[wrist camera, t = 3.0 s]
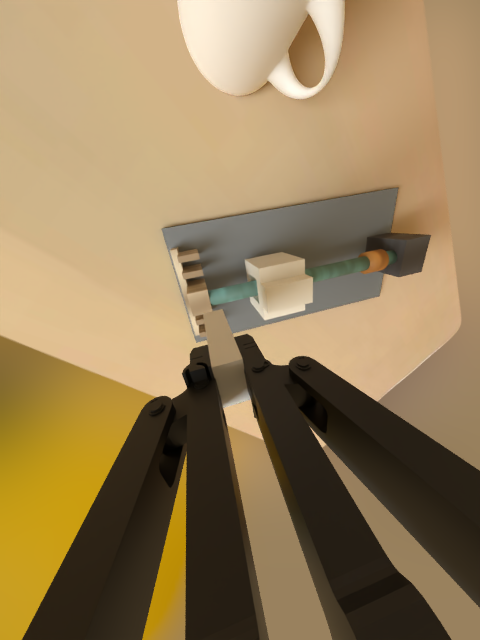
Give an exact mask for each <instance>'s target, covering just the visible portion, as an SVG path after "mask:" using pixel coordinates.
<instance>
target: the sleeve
mask: <svg viewBox="0 0 480 640" xmlns="http://www.w3.org/2000/svg"><path fill="white" fill-rule="evenodd" d="M245 266H246V273H247V280H248V282H250V281H254V280H256V281H257V289H258V295H257V296H253V297H250V302H251V304H252V305H253V306H254V307H255V309H256V310H257V311H258V313H259V314H260V315H261V316H262V318H263V319H264V320H268V319H272V318H276V317H280V316H284V315H288V314H292V313H296V312H300V311H304V310H305V304H308V303H312V302H313V277H311V276H308V275H306V274H305V259H303V258H300V257H297V256H293V255H290V254H287V253H284V252H279V253H274V254H269V255H264V256H260V257H255V258H250V259H245Z"/></svg>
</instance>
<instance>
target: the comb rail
mask: <svg viewBox="0 0 480 640" xmlns="http://www.w3.org/2000/svg"><path fill="white" fill-rule="evenodd" d="M430 237H431V235H421V234H399V233H385V234H380V235H375V236H370V237H367V243H366V250H365V252H364V253H361V254H360V255H359V256H358V258H354V259H349V260H345V261H340V262H336V263H331V264H326V265H322V266H317V267H313V268H308V269H305V274H306V275H308V276H311V277H313V282H318V281H322V280H326V279H330V278H335V277H339V276H343V275H348V274H352V273H356V272H361V273H363V274H368V273H372V272H376V271H377V272H381V273H385V274H389V275H393V276H397V277H402V276H406V275H410V274H414V273H418V272H421V271H422V267H423V263H424V260H425V256H426V252H427V248H428V244H429V240H430ZM170 253H171V257H172V260H173V263H174V266H175V270H176V273H177V276H178V280H179V283H180V286H181V290H182V293H183V296H184V300H185V303H186V306H187V310H188V313H189V316H190V319H191V323H192V326H193V329H194V333H195V336H197V335H200V338H201V337H205V336H206V330H205V324H204V318H203V313H207V312H212V307H211V306H214V305H218V304H223V303H227V302H231V301H236V300H240V299H244V298H249V297H253V296H257V295H258V289H257V281H256V280H254V281H250V282H245V283H241V284H236V285H232V286H227V287H223V288H218V289H214V290H209V291H208V290H207V287H206V283H205V280H204V278H202V279H198V280H193V281H188V282H187V279H189V278H194V277H199V276H204V274H203V270H202V267H201V263H200V264H195V265H191V266H186V267H183V264H182V263H183V262H188V261H193V260H198V259H200V258H199V254H198V250H197V249H193V250H188V251H183V252H179V250H178V247H177V248H172V249H170Z"/></svg>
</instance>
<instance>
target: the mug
mask: <svg viewBox="0 0 480 640" xmlns="http://www.w3.org/2000/svg"><path fill="white" fill-rule="evenodd" d="M177 3H178V11H179V18H180V23H181V28H182V32H183V36H184V39H185V42H186V45H187V48H188V50H189V52H190V55H191V57H192V59H193V61H194V63H195V64H196V66H197V68H198V69H199V71H200V72H201V73H202V75H203V76H204V77H205V78H206V79H207V80H208V81H209V82H210V83H211V84H212V85H213V86H214V87H216V88H217V89H219V90H220V91H222V92H224V93H227V94H229V95H234V96H244V95H249V94H251V93H254V92H255V91H257V90H258V89H260V88H261V87H262V86H263V85H265V84H266V83H267V82H268V81H269V82H270V83H271V84H272V85H273V86H274V87H275V88H276V89H277V90H279V91H280V92H281V93H282V94H284V95H286V96H287V97H290V98H293V99H307V98H310V97H312V96H314V95H315V94H317V93H318V92H319V91H321V90H322V89H323V88H324V87H325V86H326V84H327V83H328V82H329V80H330V79H331V77H332V75H333V73H334V71H335V69H336V66H337V64H338V60H339V57H340V53H341V49H342V42H343V35H344V22H345V0H177ZM308 14H309V15H310V16H311V18H312V20H313V22H314V24H315V26H316V28H317V30H318V33H319V35H320V38H321V41H322V45H323V49H324V55H325V70H324V75H323V77H322V80H321V81H320V83H319V84H318V85H317V86H315V87H312V88H308V87H305V86H303V85H302V84H301V83H300V82H299V81H298V79H297V78H296V76H295V74H294V72H293V69H292V66H291V63H290V59H289V53H288V49H289V47H290V45H291V44H292V42H293V40H294V38H295V37H296V35H297V33H298V31H299V30H300V28H301V26H302V24H303V23H304V21H305V19H306V17H307V15H308Z"/></svg>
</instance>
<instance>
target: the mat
mask: <svg viewBox="0 0 480 640" xmlns="http://www.w3.org/2000/svg"><path fill="white" fill-rule="evenodd" d="M397 193H398V188H392V189H386V190H381V191H375V192H369V193H364V194H358V195H352V196H346V197H341V198H335V199H329V200H324V201H318V202H312V203H306V204H301V205H295V206H289V207H283V208H278V209H272V210H266V211H261V212H255V213H249V214H243V215H238V216H232V217H226V218H221V219H215V220H209V221H203V222H198V223H192V224H186V225H181V226H175V227H169V228H163V229H162V232H163V235H164V238H165V242H166V245H167V248H168V252H169V255H170V258H171V261H172V265H173V268H174V271H175V275H176V278H177V281H178V284H179V288H180V291H181V294H182V297H183V301H184V304H185V307H186V311H187V314H188V317H189V320H190V324H191V327H192V330H193V334H194V337H195V340H196V343H197V342H201V341H205V340H207V336H205V337H201V338H200V335H197V336H195V333H194V329H193V326H192V323H191V319H190V316H189V313H188V310H187V306H186V303H185V300H184V296H183V293H182V290H181V286H180V283H179V280H178V276H177V273H176V270H175V266H174V263H173V260H172V257H171V253H170V249H172V248H177V247H178V250H179V252H183V251H188V250H193V249H197V250H198V254H199V258H200V259H198V260H193V261H188V262H183V263H182V264H183V267H186V266H191V265H195V264H200V263H201V267H202V270H203V274H204V276H199V277H194V278H189V279H187V282H188V281H193V280H198V279H202V278H204V280H205V283H206V287H207V290H208V291H209V290H214V289H218V288H223V287H227V286H232V285H236V284H241V283H245V282H248V280H247V273H246V266H245V259H250V258H255V257H260V256H264V255H269V254H274V253H279V252H284V253H287V254H290V255H293V256H297V257H300V258H303V259H305V269H308V268H313V267H317V266H322V265H326V264H331V263H336V262H340V261H345V260H349V259H354V258H358V256H359V255H360V254H361V253H364V252H365V250H366V243H367V237H370V236H375V235H380V234H385V233H391V227H392V222H393V216H394V210H395V205H396V199H397ZM382 279H383V273H381V272H377V271H376V272H372V273H368V274H363V273H361V272H356V273H352V274H348V275H343V276H339V277H335V278H330V279H326V280H322V281H318V282H313V302H312V303H308V304H305V310H304V311H300V312H296V313H292V314H288V315H284V316H280V317H276V318H272V319H268V320H264V319H263V318H262V316H261V315H260V314H259V313H258V311H257V310H256V309H255V307H254V306H253V305H252V304H251V302H250V297H249V298H244V299H240V300H236V301H231V302H227V303H223V304H218V305H214V306H211V307H212V311H216V310H220V309H222V310H223V312H224V314H225V317H226V319H227V322H228V324H229V327H230V329H231V332H232V333H236V332H240V331H244V330H248V329H252V328H256V327H260V326H264V325H268V324H272V323H276V322H280V321H283V320H287V319H291V318H295V317H299V316H303V315H307V314H311V313H315V312H319V311H323V310H327V309H331V308H335V307H339V306H343V305H346V304H350V303H354V302H358V301H362V300H366V299H370V298H374V297H378V296H380V290H381V285H382Z"/></svg>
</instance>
